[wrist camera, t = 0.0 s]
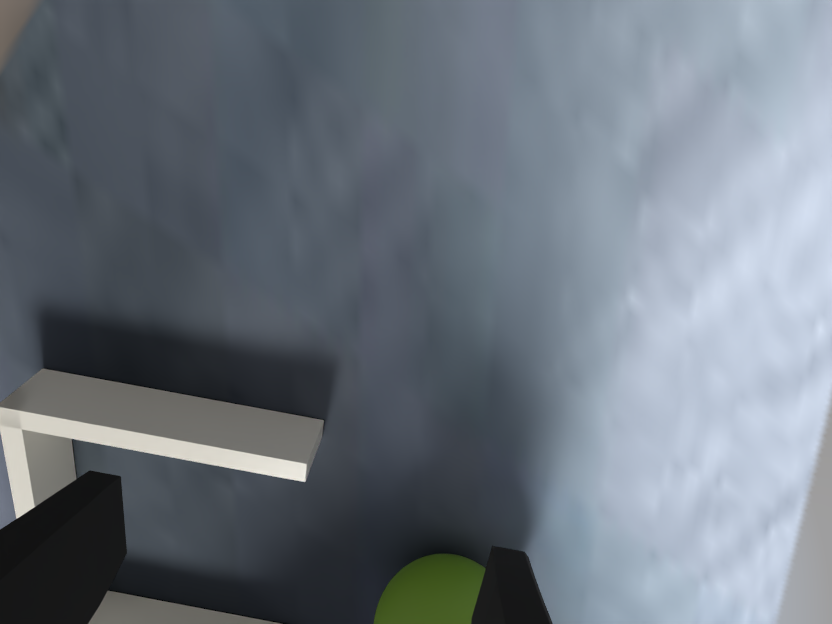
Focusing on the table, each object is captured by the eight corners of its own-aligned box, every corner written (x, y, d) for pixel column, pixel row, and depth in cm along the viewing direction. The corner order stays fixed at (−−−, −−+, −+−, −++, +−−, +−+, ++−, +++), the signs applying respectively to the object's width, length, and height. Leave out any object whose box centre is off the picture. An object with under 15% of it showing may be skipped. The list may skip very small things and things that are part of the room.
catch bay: (300, 638, 29) (285, 691, 26) (74, 595, 29) (40, 644, 26) (323, 420, 23) (306, 464, 21) (42, 368, 23) (-5, 406, 21)
